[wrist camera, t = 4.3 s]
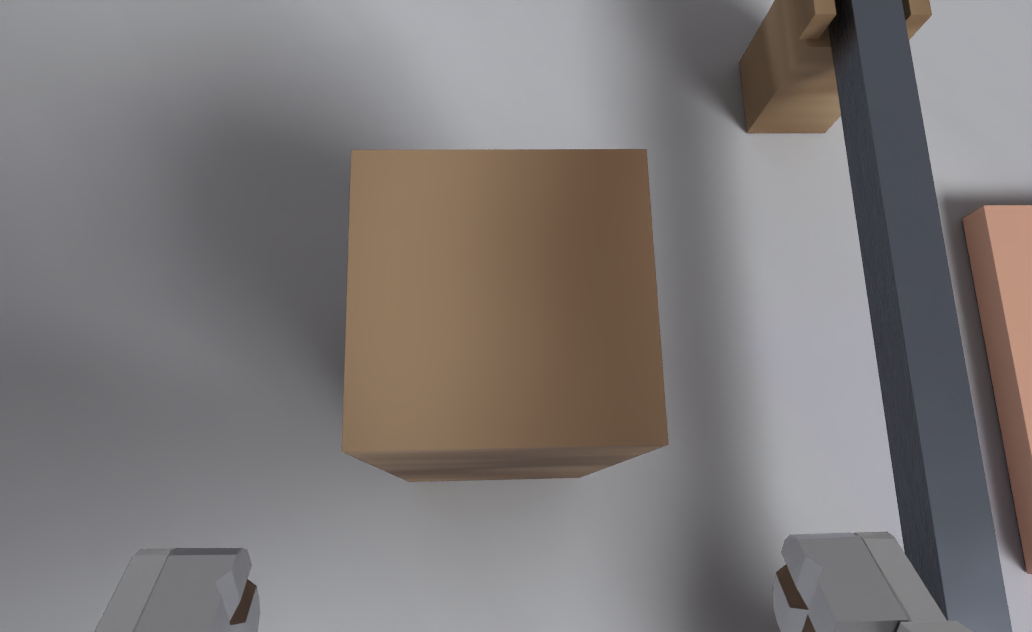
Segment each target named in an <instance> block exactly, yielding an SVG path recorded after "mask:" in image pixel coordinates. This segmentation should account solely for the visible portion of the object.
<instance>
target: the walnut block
mask: <svg viewBox="0 0 1032 632" xmlns="http://www.w3.org/2000/svg"><path fill="white" fill-rule="evenodd" d="M666 445H668V434H667V420H666V407H665V393H664V380H663V366H662V353H661V339H660V326H659V312H658V299H657V285H656V271H655V258H654V244H653V231H652V217H651V204H650V190H649V177H648V163H647V150H646V149H559V150H351V177H350V208H349V240H348V272H347V304H346V336H345V367H344V399H343V431H342V452H344V453H346V454H348V455H350V456H353V457H355V458H357V459H359V460H362V461H364V462H366V463H368V464H370V465H373V466H375V467H377V468H379V469H382V470H384V471H386V472H388V473H391V474H393V475H395V476H397V477H399V478H402V479H404V480H406V481H408V482H417V481H459V480H502V479H544V478H580V477H582V476H585V475H588V474H590V473H593V472H596V471H598V470H601V469H604V468H607V467H609V466H612V465H615V464H617V463H620V462H623V461H625V460H628V459H631V458H634V457H636V456H639V455H642V454H644V453H647V452H650V451H652V450H655V449H658V448H661V447H663V446H666Z"/></svg>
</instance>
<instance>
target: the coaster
mask: <svg viewBox="0 0 1032 632" xmlns="http://www.w3.org/2000/svg"><path fill="white" fill-rule="evenodd" d="M962 220H963V225H964V231H965V236H966V242H967V247H968V253H969V258H970V264H971V269H972V275H973V280H974V286H975V291H976V296H977V302H978V307H979V313H980V318H981V324H982V329H983V335H984V340H985V346H986V351H987V357H988V362H989V368H990V373H991V379H992V384H993V390H994V395H995V400H996V406H997V411H998V417H999V422H1000V428H1001V433H1002V439H1003V444H1004V450H1005V455H1006V461H1007V466H1008V472H1009V477H1010V483H1011V488H1012V494H1013V499H1014V504H1015V510H1016V515H1017V521H1018V526H1019V532H1020V537H1021V543H1022V548H1023V554H1024V559H1025V565H1026V570H1027V573H1028V574H1032V205H984V206H982V207H980V208H979V209H977V210H975V211H974V212H972V213H971V214H969V215H967V216H966V217H964V218H962Z"/></svg>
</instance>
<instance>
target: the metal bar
mask: <svg viewBox="0 0 1032 632" xmlns="http://www.w3.org/2000/svg"><path fill="white" fill-rule="evenodd" d="M834 1H835V8H836V16H835V17H834V18H833V20H832V21H831V23H830V24H829V25H828V29H829V36H830V43H831V49H832V56H833V63H834V70H835V77H836V84H837V91H838V98H839V104H840V111H841V118H842V125H843V132H844V139H845V146H846V152H847V159H848V166H849V173H850V180H851V187H852V194H853V201H854V207H855V214H856V221H857V228H858V235H859V242H860V249H861V255H862V262H863V269H864V276H865V283H866V290H867V297H868V304H869V310H870V317H871V324H872V331H873V338H874V345H875V352H876V358H877V365H878V372H879V379H880V386H881V393H882V400H883V407H884V413H885V420H886V427H887V434H888V441H889V448H890V455H891V461H892V468H893V475H894V482H895V489H896V496H897V503H898V509H899V516H900V523H901V530H902V537H903V544H904V551H905V555H906V556H907V558H908V559H909V561H910V563H911V564H912V566H913V567H914V569H915V571H916V572H917V574H918V575H919V577H920V579H921V580H922V582H923V583H924V585H925V586H926V588H927V590H928V591H929V593H930V594H931V596H932V598H933V599H934V601H935V602H936V604H937V605H938V607H939V609H940V610H941V612H942V613H943V615H944V617H945V618H946V620H947V621H958V622H960V623H961V624H963V625H964V626H966V627H967V628H968V629H970V630H971V631H973V632H1012V627H1011V622H1010V616H1009V610H1008V604H1007V599H1006V593H1005V587H1004V582H1003V576H1002V570H1001V564H1000V559H999V553H998V547H997V542H996V536H995V530H994V524H993V519H992V513H991V507H990V502H989V496H988V490H987V484H986V479H985V473H984V467H983V462H982V456H981V450H980V444H979V439H978V433H977V427H976V422H975V416H974V410H973V404H972V399H971V393H970V387H969V382H968V376H967V370H966V364H965V359H964V353H963V347H962V342H961V336H960V330H959V324H958V319H957V313H956V307H955V302H954V296H953V290H952V284H951V279H950V273H949V267H948V262H947V256H946V250H945V244H944V239H943V233H942V227H941V221H940V216H939V210H938V204H937V199H936V193H935V187H934V181H933V176H932V170H931V164H930V159H929V153H928V147H927V141H926V136H925V130H924V124H923V119H922V113H921V107H920V101H919V96H918V90H917V84H916V79H915V73H914V67H913V61H912V56H911V50H910V44H909V39H908V33H907V27H906V21H905V16H904V10H903V4H902V0H834Z"/></svg>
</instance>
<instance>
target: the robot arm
mask: <svg viewBox="0 0 1032 632" xmlns="http://www.w3.org/2000/svg"><path fill="white" fill-rule="evenodd" d="M781 553H782V556H783V558H784V560H785V563H786V565H785V566H783V567H782V568H781V569H780V570H779V571H777V572H776V574H775V579H774V583H773V588H772V592H773V608H774V613H775V617H776V621H777V624H778V626H779V629H780V632H973V631H971V630H970V629H968V628H967V627H966V626H964V625H963V624H961V623H960V622H958V621H947V620H946V618H945V617H944V615H943V613H942V612H941V610H940V609H939V607H938V605H937V604H936V602H935V601H934V599H933V598H932V596H931V594H930V593H929V591H928V590H927V588H926V586H925V585H924V583H923V582H922V580H921V579H920V577H919V575H918V574H917V572H916V571H915V569H914V567H913V566H912V564H911V563H910V561H909V559H908V558H907V556H906V555H905V553H904V552H903V550H902V548H901V547H900V545H899V544H898V542H897V540H896V539H895V537H894V536H892V535H891V534H890V533H888V532H863V533H825V534H797V535H789V536H788V537H787V538H786V539H785V541H784V544H783V548H782V551H781ZM251 566H252V565H251V561H250V558H249V554H248V551H247V550H246V549H243V548H175V549H140V550H139V551H138V552H137V553H136V554H135V555H134V556H133V557H132V558H131V560H130V562H129V564H128V566H127V568H126V570H125V572H124V574H123V576H122V578H121V580H120V582H119V584H118V586H117V588H116V590H115V592H114V594H113V596H112V598H111V600H110V602H109V604H108V606H107V608H106V610H105V612H104V614H103V616H102V618H101V620H100V621H99V623H98V625H97V627H96V629H95V631H94V632H258V624H259V616H260V606H259V595H258V591H257V586H256V585H255V584H253V583H252V582H251V581H249V580H248V579H247V578H248V575H249V572H250V569H251Z"/></svg>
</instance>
